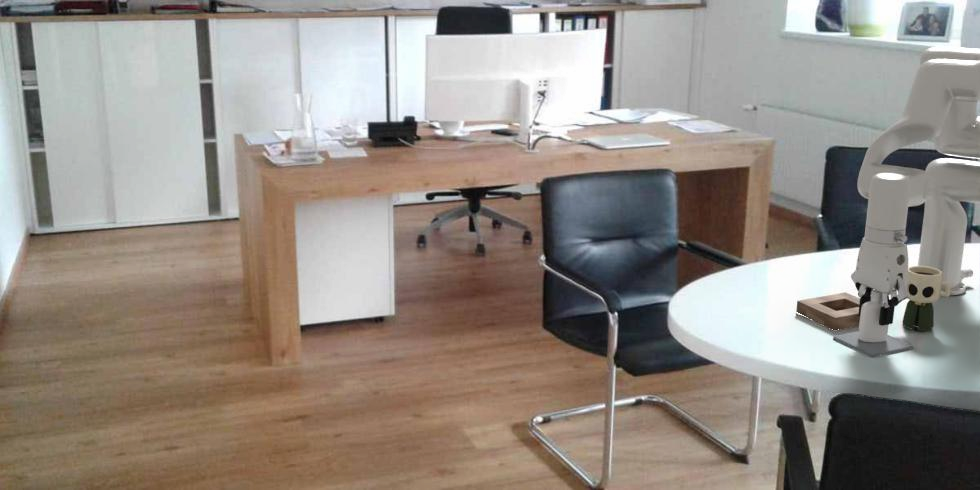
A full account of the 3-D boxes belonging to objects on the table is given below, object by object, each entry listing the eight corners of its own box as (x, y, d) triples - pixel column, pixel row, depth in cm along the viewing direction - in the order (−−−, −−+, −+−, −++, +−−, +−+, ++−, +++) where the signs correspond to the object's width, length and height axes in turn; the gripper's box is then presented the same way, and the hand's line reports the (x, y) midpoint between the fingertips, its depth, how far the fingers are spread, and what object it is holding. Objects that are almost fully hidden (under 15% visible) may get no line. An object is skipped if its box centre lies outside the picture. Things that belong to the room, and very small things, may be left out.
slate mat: (872, 331, 217) (873, 328, 217) (912, 348, 207) (913, 345, 207) (833, 338, 212) (833, 336, 212) (872, 357, 203) (872, 354, 203)
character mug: (887, 328, 218) (894, 271, 215) (893, 318, 224) (900, 262, 221) (942, 337, 213) (950, 279, 209) (946, 327, 219) (954, 270, 215)
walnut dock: (844, 304, 233) (845, 292, 232) (883, 321, 222) (884, 308, 222) (796, 313, 227) (797, 300, 227) (834, 330, 217) (835, 317, 216)
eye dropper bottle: (858, 334, 213) (865, 280, 210) (887, 338, 211) (894, 284, 208) (856, 341, 209) (863, 286, 206) (885, 345, 207) (892, 290, 204)
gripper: (932, 243, 197) (921, 330, 202) (867, 222, 212) (858, 304, 217) (903, 248, 194) (893, 336, 199) (839, 226, 209) (831, 309, 214)
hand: (875, 319), depth 208 cm, fingers open, 5 cm apart
